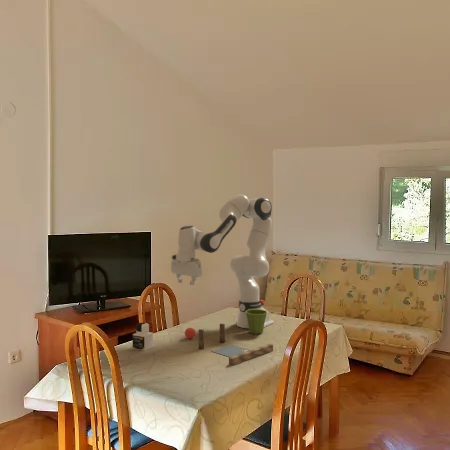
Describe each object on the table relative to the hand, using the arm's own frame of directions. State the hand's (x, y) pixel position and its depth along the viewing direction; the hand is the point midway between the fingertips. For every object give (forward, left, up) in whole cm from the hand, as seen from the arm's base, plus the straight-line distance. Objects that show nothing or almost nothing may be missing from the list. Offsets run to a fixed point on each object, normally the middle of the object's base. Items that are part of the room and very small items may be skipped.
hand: (186, 283), depth 260 cm
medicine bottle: (+28, 0, -28) cm, 39 cm away
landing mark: (+2, +35, -27) cm, 45 cm away
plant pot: (-30, +22, -28) cm, 47 cm away
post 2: (-5, +21, -27) cm, 35 cm away
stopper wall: (+2, +47, -27) cm, 55 cm away
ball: (+2, +5, -25) cm, 25 cm away
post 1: (+9, +21, -27) cm, 36 cm away
